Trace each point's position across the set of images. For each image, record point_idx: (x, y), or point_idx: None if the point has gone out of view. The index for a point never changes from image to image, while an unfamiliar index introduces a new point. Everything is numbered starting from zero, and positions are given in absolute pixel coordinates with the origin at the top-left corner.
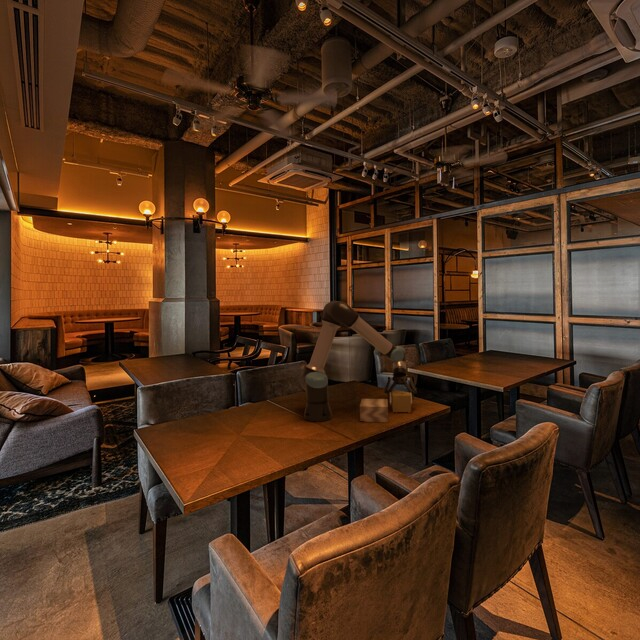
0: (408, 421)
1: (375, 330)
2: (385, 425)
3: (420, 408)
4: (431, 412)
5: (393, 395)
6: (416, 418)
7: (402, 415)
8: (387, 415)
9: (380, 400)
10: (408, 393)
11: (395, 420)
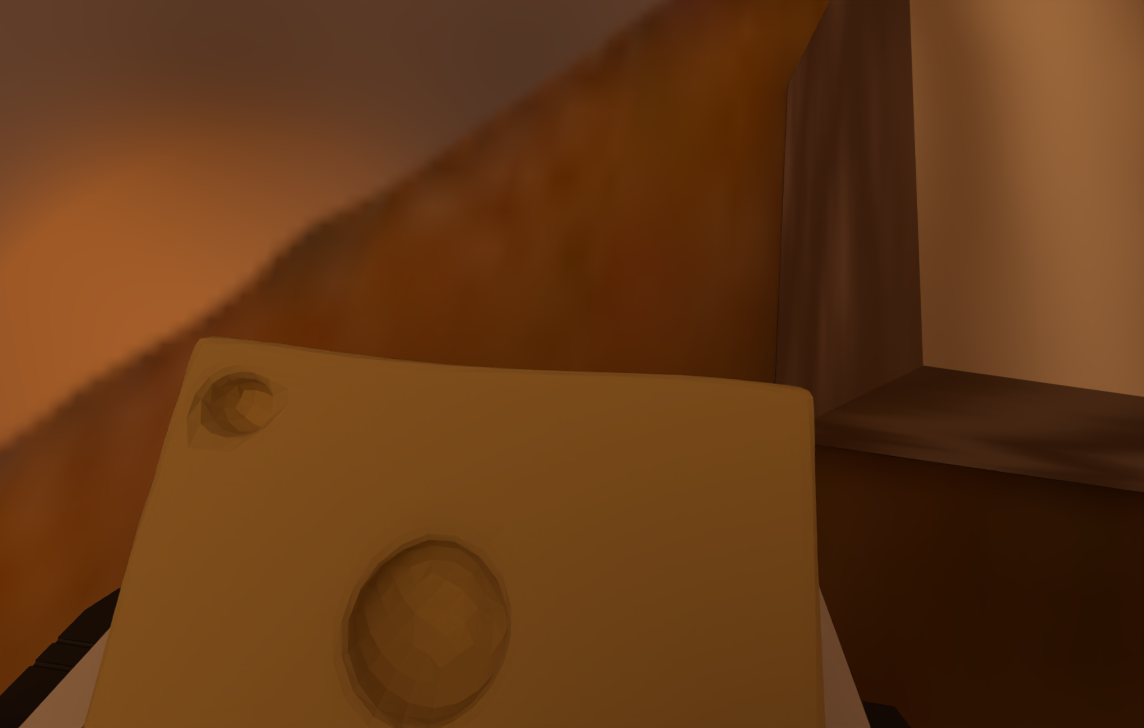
0: (517, 100)
1: None
2: (819, 3)
3: None
4: (23, 450)
5: (788, 391)
6: (377, 196)
7: (550, 334)
8: (832, 3)
9: (1109, 255)
10: (184, 556)
11: (683, 144)
